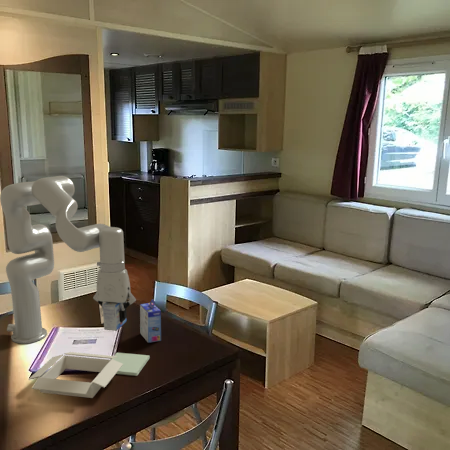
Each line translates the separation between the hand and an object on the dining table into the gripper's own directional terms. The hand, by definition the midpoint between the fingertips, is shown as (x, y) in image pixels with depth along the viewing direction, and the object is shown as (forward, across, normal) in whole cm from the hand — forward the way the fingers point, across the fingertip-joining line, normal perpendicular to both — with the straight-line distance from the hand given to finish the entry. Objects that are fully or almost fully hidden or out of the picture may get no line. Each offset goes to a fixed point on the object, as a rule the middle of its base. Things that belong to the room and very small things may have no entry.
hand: (115, 319), depth 155 cm
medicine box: (+2, 0, 0) cm, 2 cm away
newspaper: (+18, -25, +43) cm, 53 cm away
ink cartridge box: (+18, +3, +24) cm, 30 cm away
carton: (+17, -9, -11) cm, 22 cm away
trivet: (+17, +2, +2) cm, 18 cm away
